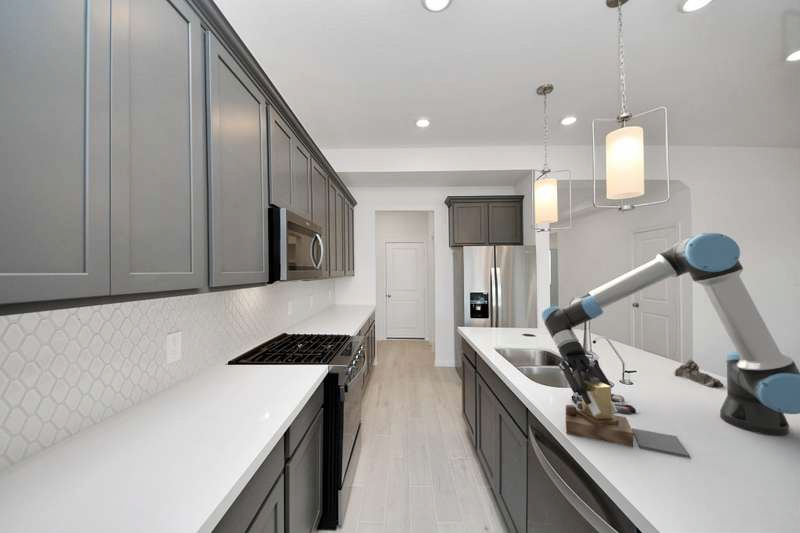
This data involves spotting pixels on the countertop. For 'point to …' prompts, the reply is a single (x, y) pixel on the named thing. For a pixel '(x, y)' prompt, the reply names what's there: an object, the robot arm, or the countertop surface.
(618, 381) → the countertop surface
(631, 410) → the toy gun
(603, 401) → the labelled wooden block
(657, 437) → the mat
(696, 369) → the rock
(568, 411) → the body
